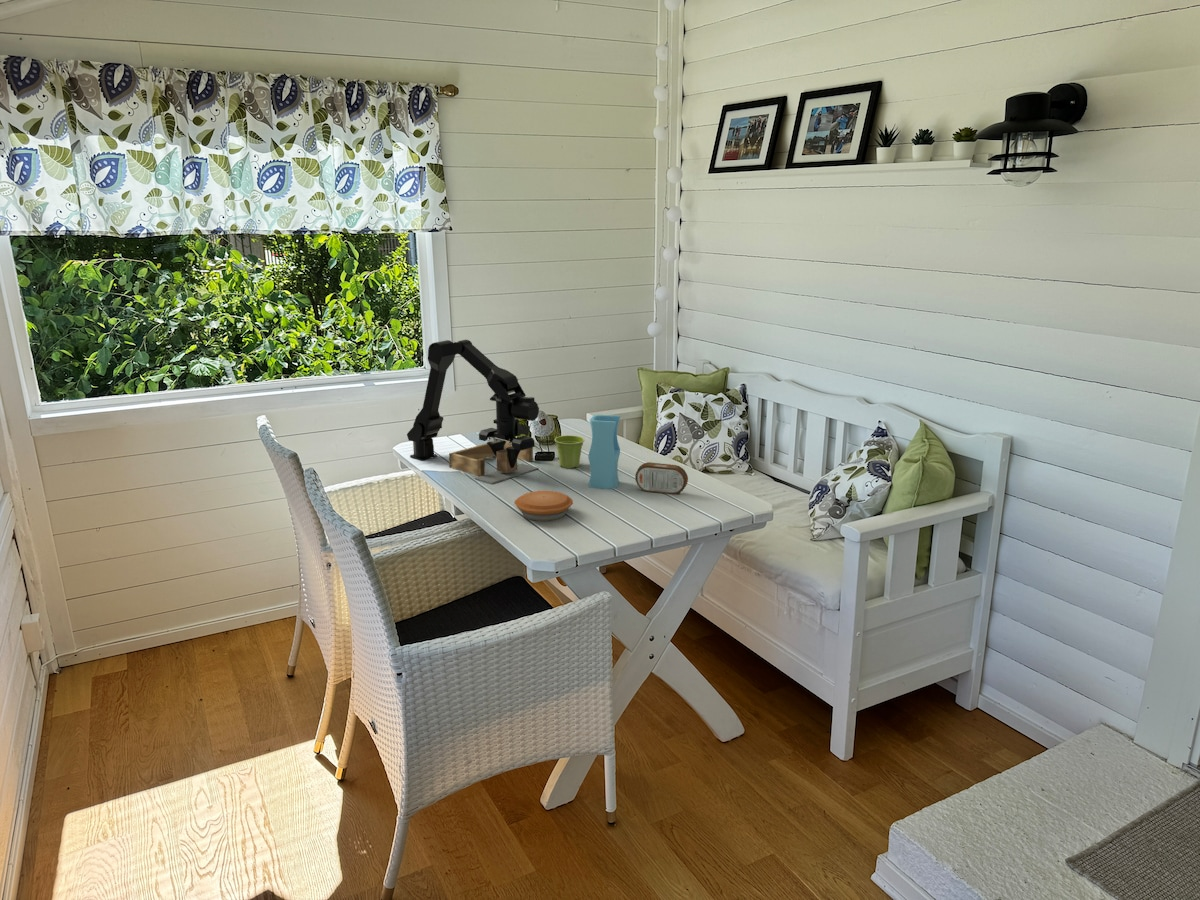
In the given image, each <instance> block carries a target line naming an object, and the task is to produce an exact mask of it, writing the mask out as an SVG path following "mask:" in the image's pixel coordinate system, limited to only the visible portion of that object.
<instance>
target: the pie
mask: <svg viewBox="0 0 1200 900" xmlns="http://www.w3.org/2000/svg"><path fill="white" fill-rule="evenodd" d="M573 504H574V501H573V499H572V497H571V496H569V495H567V494H564V493H562V492H560V491H554V490H536V491H530V492H526V493H525V494H523V495H521V496H519V497H517V498H516V499H514V505H515V506H516V507H517V508H518V510H519V511H520V512H521V514H522V515H523V517H524V518H526V519H528V520H531V521H536V522H549V521H550V522H551V521H556V520H560V519H562V518H564V516H565V515H566V514H567V512H568V511H569V510H570V509H569V508H571V507H572V505H573Z"/></svg>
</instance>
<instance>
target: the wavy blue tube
mask: <svg viewBox="0 0 1200 900" xmlns="http://www.w3.org/2000/svg"><path fill="white" fill-rule="evenodd" d="M620 420H621V415H611V414H593V415H592V417H590V419H589V423H590V429H591V444H590V448H589V452H588V455H587V457H588V458H587V459H588V462H589V467H590V478H589V483H588V488H592V489H593V488H594V489H595V488H597V489H607V490H610V489H612V490H613V489H616V488H617V486H618V485H619V482H620V481H619V473H618V472H619V471H618V466H619V458H620V456H621V454H620V453H621V448H620V444H619V442H618V427H619V424H620V423H619V422H620Z"/></svg>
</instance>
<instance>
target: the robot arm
mask: <svg viewBox="0 0 1200 900" xmlns="http://www.w3.org/2000/svg"><path fill="white" fill-rule="evenodd" d="M427 350H428V351H427V361H428V364H429V367H430V369H429V375H428V381H427V384H426V389H425V394H424V399H423V404H422V408H421V409H420V411H419V412H418V413H417V415H416V417H415V419H414V422H413V426H412V428H410V430H409V431H408V432H407V434H406V436H407V439H408V441H410V442H412V447H413V454H410V455H409V458H413V459H416V460H419V461H425V460H429V459H433V458H437V457H438V454H435V447H434V438H437V437H438V435H439V432H440V430H441V429H442V428H443V421H444V416H441V415H440V413H439V408H440V403H441V398H442V395H443V394H442V393H443V389H444V384H445V380H446V374H447V371H448V369H449V368H450V366H451V365H452V364H453V363H454V359H455V357H456V355H459V356H460V357H462V358H463V359H464V360H465V361H467V362H468V363H469V365H470V366H472V367H473V368H474V369H475V370H477V372H478V373H480V375H482V376H483V377H484V378H485V380H486V382H487V385H488V387H489V388H490V389H491V391H492V392H493V393H494V394H493V395H492V396H490V398H489V401H492V402H495V413H496V414H495V415H496V416H495V419H493V424H496V428H495V427H490V428H485V429H482V430H480V431H479V432H478V440H479V441H482V442H486V441H487V440H488V441H487V442H486V443H487V444H488V445H489V446H490V448H491V449H492V451H493V453H494V454H495V456H494V457H495V458H496V459H497V454H496V451H500V450H503V449H504V445H505V443H506V442H509V443H511V447H507V448H506V450H507V454H508V459H509V463H510V467H511V468H513V467H514V466H515V463H516V460H517V461H518V459H517V457H518V455H519V452H520V451H521V450H525V449H528V448H532V447H533V448H534V447H535V445H536V444H535V439H534V438H533V437H531V436H529V433H530V430H531V425H527V424H523V423H520V420H525V421H531V422H533V421H535V420H536V419H537V418H538V416H539V413H540V407H539V405H538V403H537V401H536V400H535V397H533V396H526V393H525V392H524V390H523V388H522V386H521V384H520V383H519V379H518V377H517V375H515V374H513V373H512V372H510V371H508V370H507V369H505V368H501V367H499V366H497V365H496V364H495V363H494V362H493V361H492V360H490V359H489V357H487V356H486V355H485V354H484V353H482V352H481V350H479V349H478V348H477V347H476V346H474V345H473V343H472V341H470V340H469V339H461V340H457V341H454V342H453V341H452V340H448V339H446V340H440V341H436V342H432V343H431V344H429V346H428V349H427ZM519 419H520V420H519ZM521 435H522V436H521Z"/></svg>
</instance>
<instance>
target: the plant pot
mask: <svg viewBox="0 0 1200 900" xmlns="http://www.w3.org/2000/svg"><path fill="white" fill-rule="evenodd" d="M554 442H555V445H556V449H557V453H558V462H559V466H560V467H562V468H564V469H573V468H578V467H579V466H580V460H581V455H582V454H581V453H582V449H583V444H584V442H585V438H584V437H582V436H578V435H568V434H567V435H561V436H557V437H555V438H554Z"/></svg>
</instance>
